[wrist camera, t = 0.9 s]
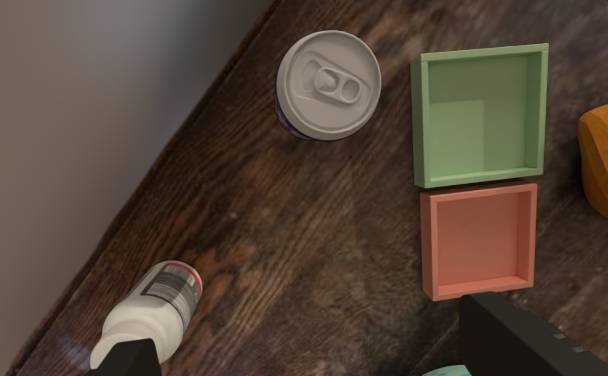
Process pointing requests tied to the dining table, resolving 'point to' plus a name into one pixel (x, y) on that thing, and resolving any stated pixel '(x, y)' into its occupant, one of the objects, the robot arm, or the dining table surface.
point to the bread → (595, 157)
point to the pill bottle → (153, 311)
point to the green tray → (478, 114)
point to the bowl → (449, 371)
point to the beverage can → (327, 86)
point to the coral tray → (478, 239)
